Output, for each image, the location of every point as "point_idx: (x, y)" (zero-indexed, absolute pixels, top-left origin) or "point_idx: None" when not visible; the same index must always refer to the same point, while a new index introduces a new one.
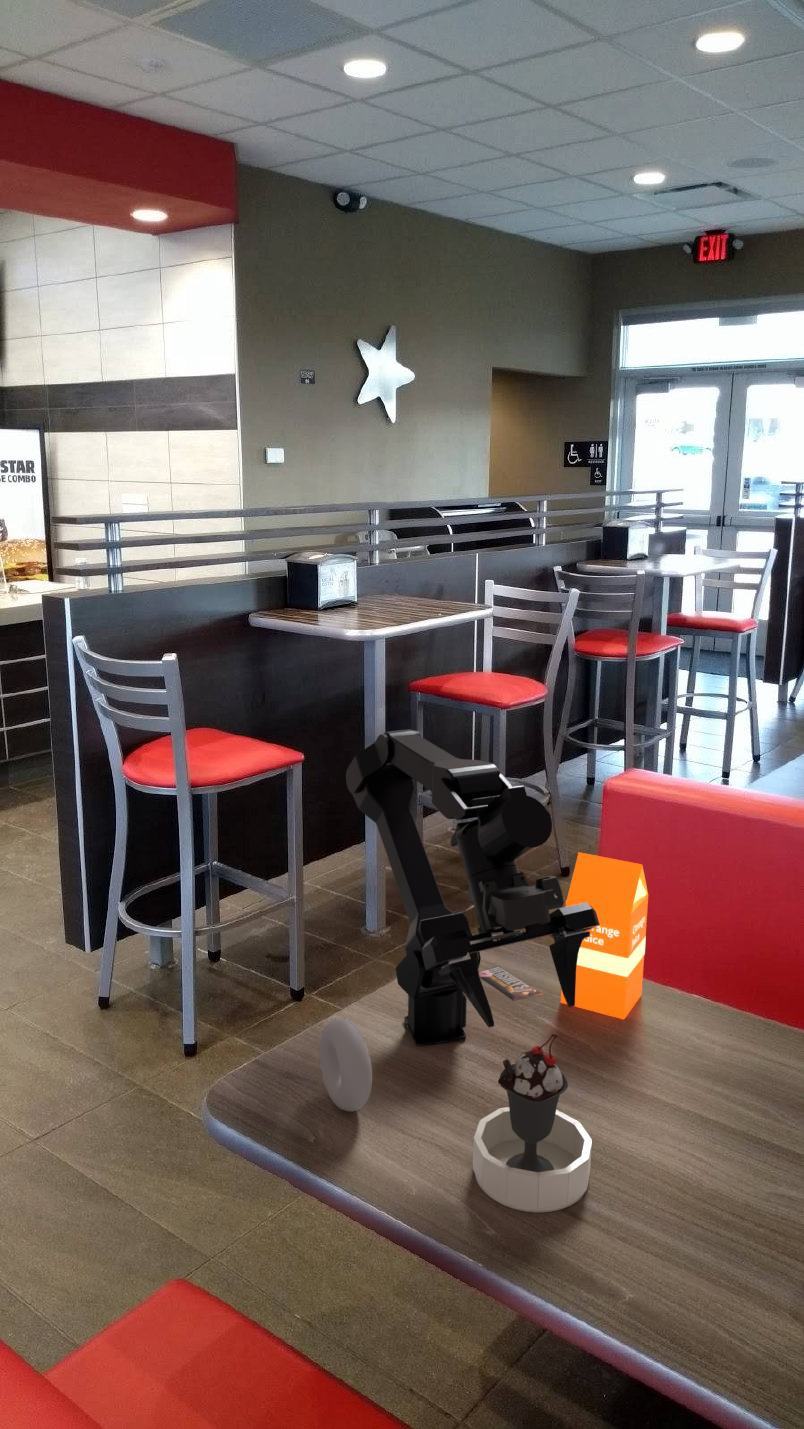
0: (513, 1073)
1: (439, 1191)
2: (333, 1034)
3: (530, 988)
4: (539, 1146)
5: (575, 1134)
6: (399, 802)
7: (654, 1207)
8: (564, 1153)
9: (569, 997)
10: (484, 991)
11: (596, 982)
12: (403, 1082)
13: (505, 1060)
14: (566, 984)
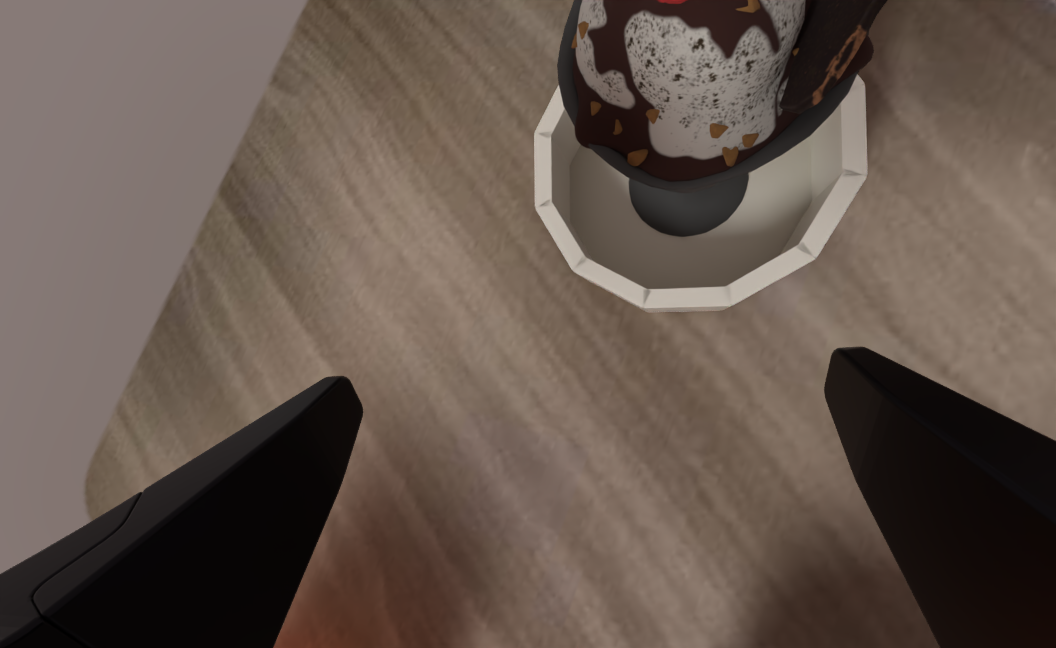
0: (795, 48)
1: (945, 148)
2: None
3: None
4: (632, 260)
5: (556, 197)
6: None
7: (479, 66)
8: (586, 226)
9: (322, 400)
10: (1051, 518)
11: None
12: (924, 644)
13: (871, 2)
14: (275, 465)
